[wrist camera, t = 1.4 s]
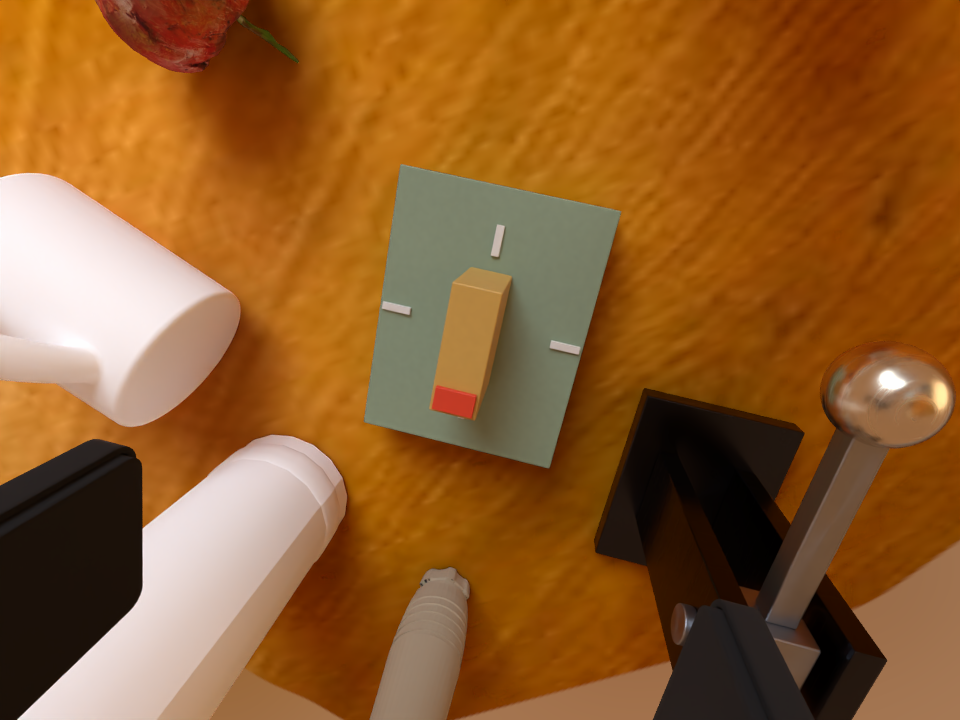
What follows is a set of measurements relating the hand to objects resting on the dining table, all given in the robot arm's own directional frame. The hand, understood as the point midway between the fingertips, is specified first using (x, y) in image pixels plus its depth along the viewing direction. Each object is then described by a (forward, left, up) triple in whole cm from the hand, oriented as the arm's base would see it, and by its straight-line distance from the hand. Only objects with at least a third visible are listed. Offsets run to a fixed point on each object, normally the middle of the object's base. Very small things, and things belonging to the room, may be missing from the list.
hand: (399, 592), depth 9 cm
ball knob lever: (+2, +12, -11) cm, 16 cm away
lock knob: (0, -1, -17) cm, 17 cm away
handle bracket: (+7, +12, -20) cm, 25 cm away
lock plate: (0, -1, -20) cm, 20 cm away
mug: (+3, -20, -21) cm, 29 cm away
